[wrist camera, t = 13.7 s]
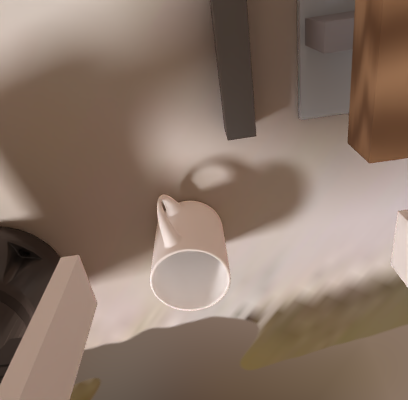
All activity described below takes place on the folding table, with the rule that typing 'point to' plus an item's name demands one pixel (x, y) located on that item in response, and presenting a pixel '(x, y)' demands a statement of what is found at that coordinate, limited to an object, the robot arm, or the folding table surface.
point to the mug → (189, 255)
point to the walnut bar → (379, 80)
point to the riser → (234, 67)
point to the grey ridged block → (324, 57)
